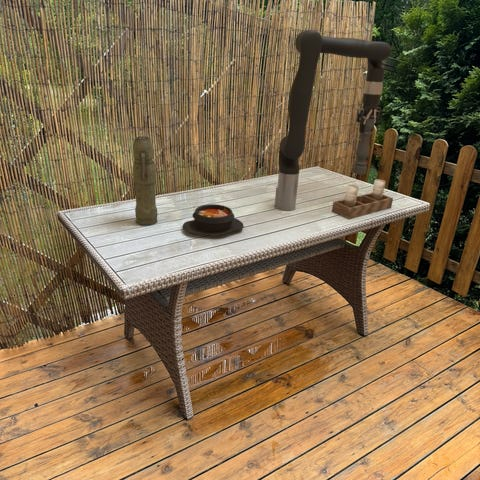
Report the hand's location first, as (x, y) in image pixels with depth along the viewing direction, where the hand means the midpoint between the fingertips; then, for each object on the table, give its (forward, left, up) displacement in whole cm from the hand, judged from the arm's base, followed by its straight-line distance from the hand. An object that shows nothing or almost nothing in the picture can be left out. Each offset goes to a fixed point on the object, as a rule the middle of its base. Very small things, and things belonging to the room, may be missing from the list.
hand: (365, 131), depth 191 cm
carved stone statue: (-76, -64, -36) cm, 105 cm away
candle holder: (0, 0, -19) cm, 19 cm away
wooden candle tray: (+5, -4, -36) cm, 36 cm away
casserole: (-48, -58, -36) cm, 83 cm away
